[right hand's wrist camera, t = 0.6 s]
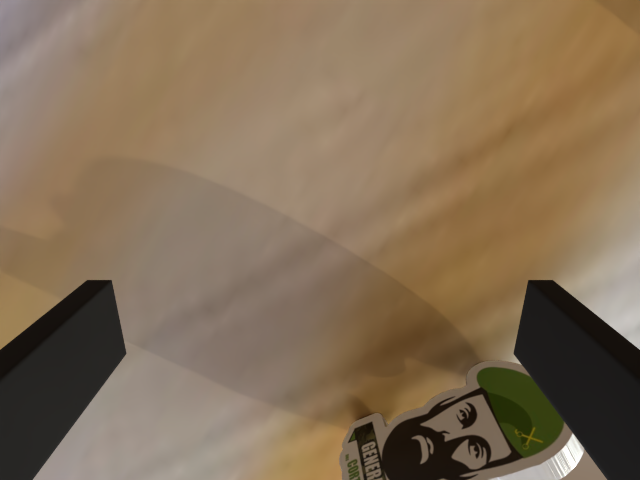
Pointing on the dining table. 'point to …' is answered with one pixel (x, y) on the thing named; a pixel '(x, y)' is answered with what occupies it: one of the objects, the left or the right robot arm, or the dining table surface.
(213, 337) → the dining table surface
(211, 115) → the dining table surface
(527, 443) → the cutout
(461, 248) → the dining table surface
